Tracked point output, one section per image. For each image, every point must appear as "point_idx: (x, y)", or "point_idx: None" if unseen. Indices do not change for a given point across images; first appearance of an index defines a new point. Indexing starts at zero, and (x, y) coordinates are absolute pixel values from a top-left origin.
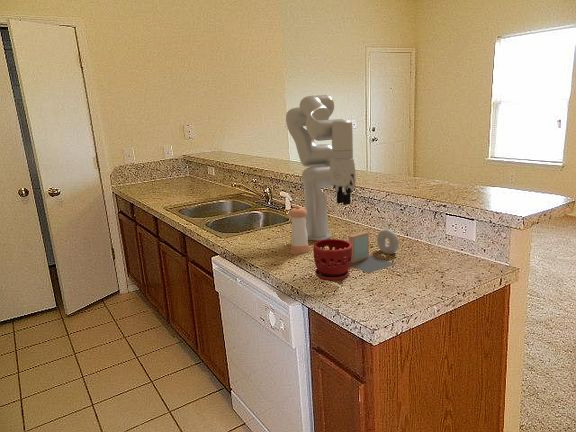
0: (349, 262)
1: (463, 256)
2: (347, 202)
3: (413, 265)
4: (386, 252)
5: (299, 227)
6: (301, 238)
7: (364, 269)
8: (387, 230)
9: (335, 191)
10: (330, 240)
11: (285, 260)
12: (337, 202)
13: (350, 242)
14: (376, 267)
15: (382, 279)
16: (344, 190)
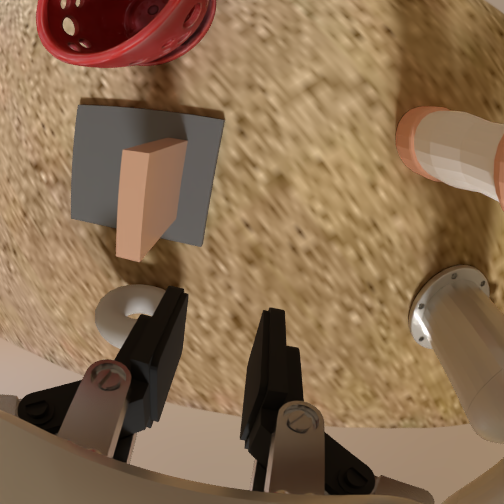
0: (75, 31)
1: (44, 350)
2: (143, 318)
3: (54, 250)
4: (145, 285)
5: (472, 128)
6: (435, 124)
7: (103, 118)
8: (118, 338)
9: (322, 418)
10: (158, 15)
11: (411, 42)
12: (275, 312)
13: (148, 147)
14: (87, 158)
15: (45, 112)
16: (101, 408)
